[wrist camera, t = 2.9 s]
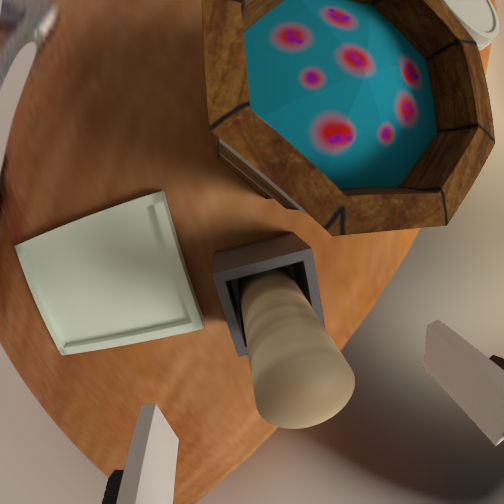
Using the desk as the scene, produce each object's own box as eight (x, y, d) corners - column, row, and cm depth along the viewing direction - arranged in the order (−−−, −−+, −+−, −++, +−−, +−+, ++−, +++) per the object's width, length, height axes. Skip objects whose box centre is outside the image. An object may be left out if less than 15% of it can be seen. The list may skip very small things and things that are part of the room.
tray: (22, 242, 22) (14, 246, 21) (163, 190, 23) (160, 191, 22) (66, 348, 26) (61, 355, 24) (204, 320, 26) (203, 328, 25)
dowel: (231, 265, 24) (244, 372, 11) (284, 251, 24) (352, 341, 11) (245, 311, 25) (267, 437, 12) (294, 298, 26) (356, 411, 12)
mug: (338, 223, 25) (457, 282, 11) (186, 175, 23) (129, 176, 8) (389, 41, 21) (491, -18, 6) (260, -14, 19) (292, -125, 4)
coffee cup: (434, 50, 21) (510, 20, 10) (402, 93, 22) (491, 65, 11) (377, -6, 19) (437, -59, 8) (335, 31, 20) (399, -35, 9)
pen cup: (214, 252, 25) (211, 274, 19) (292, 232, 25) (311, 247, 20) (235, 322, 27) (238, 356, 21) (307, 303, 27) (325, 332, 21)
